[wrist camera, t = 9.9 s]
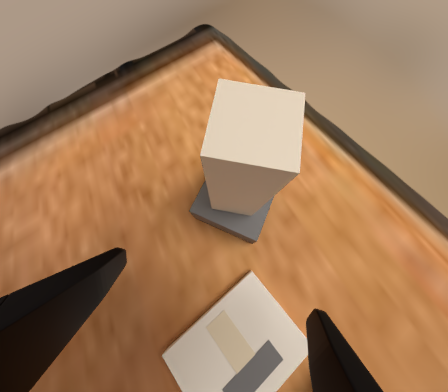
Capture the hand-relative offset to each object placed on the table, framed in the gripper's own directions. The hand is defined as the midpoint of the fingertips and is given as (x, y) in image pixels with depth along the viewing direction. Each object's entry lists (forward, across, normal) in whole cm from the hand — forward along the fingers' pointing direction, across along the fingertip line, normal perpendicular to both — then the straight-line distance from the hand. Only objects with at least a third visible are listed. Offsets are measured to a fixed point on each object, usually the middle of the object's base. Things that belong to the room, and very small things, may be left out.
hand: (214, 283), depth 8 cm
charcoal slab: (+16, 0, +4) cm, 16 cm away
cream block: (+12, 0, +1) cm, 13 cm away
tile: (+5, -4, +14) cm, 16 cm away
